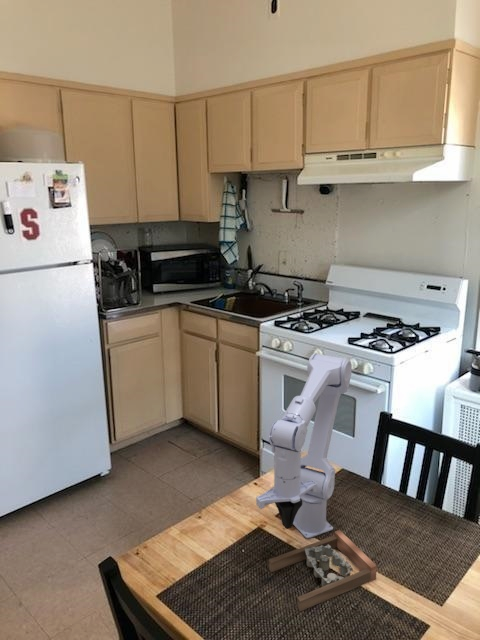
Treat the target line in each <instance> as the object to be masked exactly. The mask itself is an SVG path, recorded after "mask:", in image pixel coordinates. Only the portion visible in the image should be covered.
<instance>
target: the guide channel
mask: <svg viewBox="0 0 480 640" xmlns="http://www.w3.org/2000/svg"><path fill="white" fill-rule="evenodd" d="M327 544H329V545H330V546H331V548H332V549H334V550H335V549H336V548H337V549H338V550H339V551H340V552H341V553H342V554H343V555H344V556H345V557H346V558H347V559H348V560H349V561H350V562H351V563H352V564H353V565H354V566H355V568H356V569H358V572H355V573H353V574H350V576H348V577H345V576H344V578H343V579H340V580H338V581H335V580H334V581H335V582H334V581H333V583H331V584H328V585H326V586H323V587H322V586H321V587H319V588H317V589H314V590H312V591H309V592H306V593H304V594H302V595H299V596H297V597H296V607H297V609H298V611H299V612H302V611H305V610H306V609H310V608H312V607H314V606H316V605H318V604H320V603H321V604H322V603H323V602H326V601H328V600H330V599H332V598H335V597H337V596H340V595H342V594H344V593H347V592H349V591H351V590H354V589H357V588H359V587H361V586H363V585H365V584H368V583H371V582H372V581H374V580H377V567H378V566H377V565H376V563H375V562H373V561H372V560H371V558H370V557H368V556H367V555H366V554H365V553H364V552H363V550H361V549H360V548H359V546H357V545H356V544H355V543H354V542H353V541H352V540H351V539H350V538H349V537H347V536H346V535H345V533H343V532H342V530H340V529H339V530H336V531H334V535H332V536H329V537H326V538H324V539H321V540H318V541H315V542H312V543H310V544H308V545H307V544H306V545H304V546H302V547H299V548H297V549H293V550H291V551H288V552H285V553H283V554H279V555H277V556H275V557H271V558H269V559H268V560H267V561H268V571H269V572H270V573H274V572H276V571H279V570H281V569H284V568H287V567H289V566H292V565H294V564H297V563H299V562H302V561H306V560H307V555H306V552H305V548H309V549H311V548H312V547H317V546H318V547H320V546H321V545H323V546H327Z"/></svg>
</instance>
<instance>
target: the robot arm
mask: <svg viewBox="0 0 480 640" xmlns="http://www.w3.org/2000/svg"><path fill="white" fill-rule="evenodd" d="M306 370H307V380H306V382H305V384H304V386H303V388H302V391H301V392H300V395H296V396H294V397H293V398H292V400H291V401H290V403H289V405H288V406H287V408H286V410H285V412H284V414H283V415H282V417H281V418H280V419H278V420H275V421H274V422H272V424H271V427H270V430H269V436H268V441H269V444H270V446H271V452H272V454H273V456H274V457H273V461H274V462H273V463H274V465H273V467H274V471H273V472H274V473H273V474H274V475H273V477H274V478H273V481H274V482H273V484H274V486H273V487H272V488H270V489H268V490H267V491H265V492H264V493H262V494H260V495H258V496H256V497H255V501H256V502H255V503H256V506H257V507H258V508H259V509H260V510H262V509H265V507H266V506H269V505H271V504H275V507H276V508H277V510H278V513H279V516H280V520H281V525H282V526H283V527H284V528H285V529H286V530H289V529H291V528H293V526H294V528H296V529H297V530H298V532H300V534H301V535H302V536H303V537H304V538H305V539H308V540H309V539H312V538H313V537H316V536H319V535H321V534H322V535H323V534H325V533H327V532H330V531H333V530H334V527H333V526H332V524H330V523H329V521H327V501H328V500H329V499H330V498H331V497H332V495H333V493H334V489H335V478H336V469H335V467H334V466H333V465H332V464H331V463H330V461H329V460H328V454H329V453H328V452H329V449H330V444H331V440H332V434H333V429H334V424H335V419H336V415H337V410H338V405H339V401H340V399H341V395H342V394H345V393H347V392H348V389H349V387H350V382H351V378H352V370H353V369H352V362H351V360H350V358H348V357H345V358H344V357H339V356H333V355H332V356H331V355H328V354H327V355H326V354H321V353H320V354H319V353H317V352H314V353H312V354H311V355H310V356H309V359H308V362H307V369H306ZM316 401H318V403H317V407H316V404H315V403H316ZM314 415H315V418H314V421H313V422H314V423H313V427H312V432H311V436H310V442H309V446H308V450H307V453H306V455H304V456H301V454H302V448H303V447H304V444H305V442H306V438H307V434H308V426H309V424H310V422H311V420H313V419H312V418H313V417H314ZM312 468H314V469H312ZM316 469H317V470H316ZM319 470H321V471H319Z"/></svg>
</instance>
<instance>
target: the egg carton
mask: <svg viewBox="0 0 480 640" xmlns="http://www.w3.org/2000/svg"><path fill="white" fill-rule="evenodd" d="M305 552H306V555H307V559H306V566H307V567H308V568H312V569H313V576H314V577H315V578H320V579H321V587H323V586H326V585H328V584H331V583H333V582H335V581H338V580H340V579H343V578H345V577H348V576H350V575H352V574H351V573H352V572H353V571H354V569H353V567H352V565H351V564H350V562H348V561H347V560H345V559H344V557H342V556H341V554H340V553H339V552H338V551H337V550H335V548H334V549H332V548H331V546H330V545H329V544H327V546H323V545H321V546H320V547H318V546H317V547H312V548H311V549H309V548H305ZM330 560H331V561H330ZM317 561H318V562H319V563H318V566H319V567H318V568H317ZM330 562H331V563H332V565H334V566H335V567H339V573H340V575H337V574H336V573H334V572H329V573H327V575H326V577H325V572H324V571H329V569H330Z"/></svg>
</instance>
